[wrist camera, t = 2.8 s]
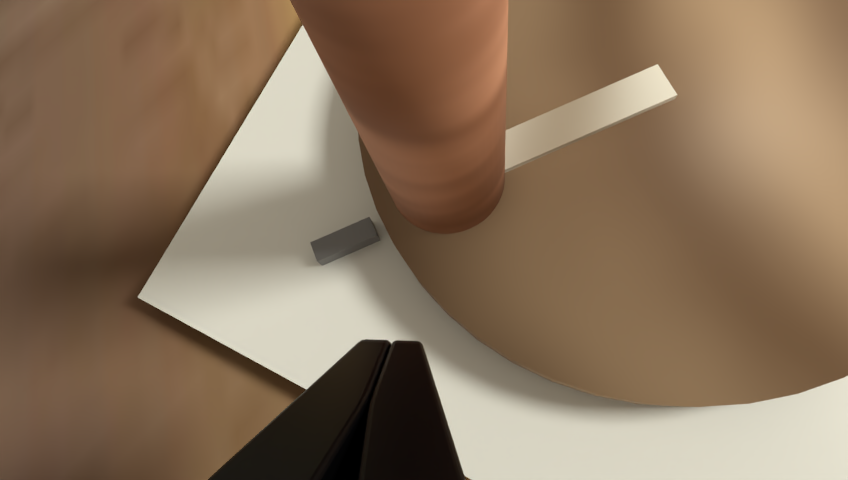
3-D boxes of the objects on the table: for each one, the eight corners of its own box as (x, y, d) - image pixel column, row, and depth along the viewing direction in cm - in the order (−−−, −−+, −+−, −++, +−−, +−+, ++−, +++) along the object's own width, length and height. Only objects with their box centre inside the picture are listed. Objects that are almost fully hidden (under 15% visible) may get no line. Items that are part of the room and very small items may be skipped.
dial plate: (946, 733, 12) (995, 769, 11) (153, 302, 18) (127, 294, 16) (1145, -56, 17) (1197, -93, 15) (463, -216, 22) (461, -254, 21)
